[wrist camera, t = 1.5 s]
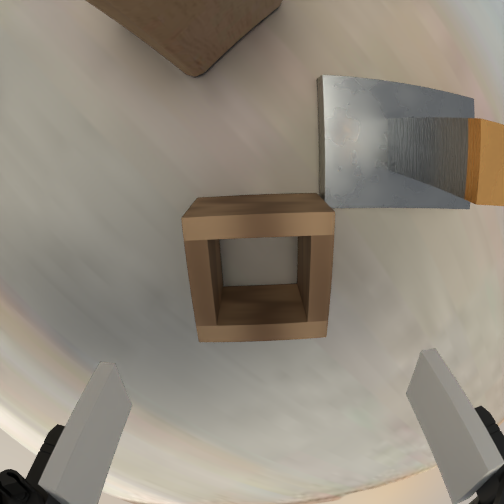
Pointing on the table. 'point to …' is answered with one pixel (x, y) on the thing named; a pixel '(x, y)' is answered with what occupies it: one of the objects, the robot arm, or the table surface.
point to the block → (188, 26)
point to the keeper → (405, 147)
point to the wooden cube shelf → (260, 296)
